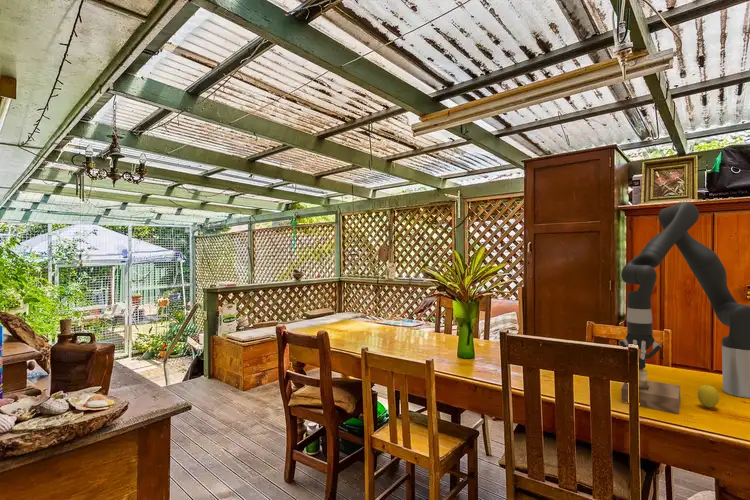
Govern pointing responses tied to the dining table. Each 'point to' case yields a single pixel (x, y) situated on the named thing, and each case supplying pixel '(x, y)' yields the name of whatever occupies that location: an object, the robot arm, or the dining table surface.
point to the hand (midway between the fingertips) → (640, 368)
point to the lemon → (708, 396)
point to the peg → (643, 379)
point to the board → (657, 396)
